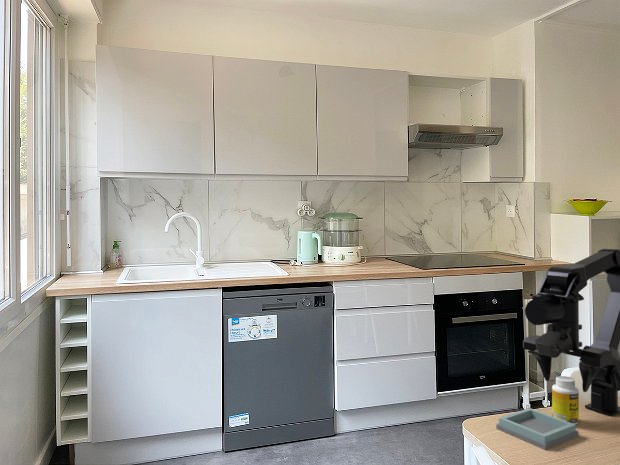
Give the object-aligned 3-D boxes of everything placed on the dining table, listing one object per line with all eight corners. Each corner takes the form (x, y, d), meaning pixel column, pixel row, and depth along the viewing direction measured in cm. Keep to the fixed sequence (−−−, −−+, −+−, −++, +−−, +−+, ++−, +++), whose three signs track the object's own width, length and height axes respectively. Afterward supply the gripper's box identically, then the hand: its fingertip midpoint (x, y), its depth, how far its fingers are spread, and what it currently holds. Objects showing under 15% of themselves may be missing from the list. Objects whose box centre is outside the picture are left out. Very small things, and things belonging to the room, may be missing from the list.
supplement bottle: (571, 428, 107) (570, 384, 107) (547, 420, 112) (547, 377, 112) (583, 422, 110) (583, 379, 110) (560, 414, 115) (559, 373, 115)
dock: (529, 417, 114) (529, 407, 114) (578, 436, 103) (578, 424, 103) (496, 428, 108) (496, 417, 108) (545, 449, 97) (545, 437, 97)
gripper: (508, 317, 115) (509, 381, 115) (585, 332, 99) (586, 406, 99) (536, 312, 120) (537, 373, 121) (613, 325, 104) (614, 395, 104)
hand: (565, 385), depth 111 cm, fingers open, 9 cm apart
